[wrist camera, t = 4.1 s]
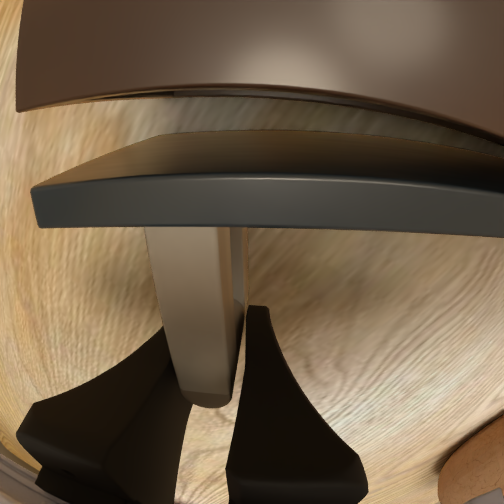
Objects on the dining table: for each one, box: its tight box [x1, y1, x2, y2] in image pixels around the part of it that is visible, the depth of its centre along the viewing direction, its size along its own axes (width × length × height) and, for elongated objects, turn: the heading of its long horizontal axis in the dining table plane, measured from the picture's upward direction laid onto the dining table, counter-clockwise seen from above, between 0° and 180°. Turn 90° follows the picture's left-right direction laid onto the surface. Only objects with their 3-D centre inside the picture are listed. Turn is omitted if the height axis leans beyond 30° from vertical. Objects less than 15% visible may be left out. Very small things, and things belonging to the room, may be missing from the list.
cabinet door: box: [30, 130, 504, 408], centre depth 8 cm, size 6×18×7 cm, turn 91°
